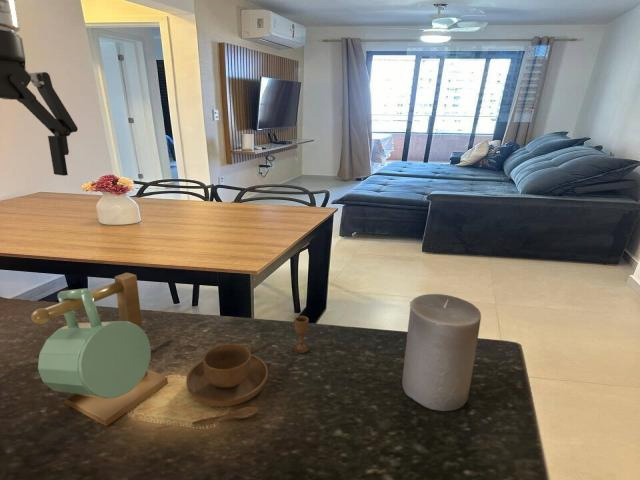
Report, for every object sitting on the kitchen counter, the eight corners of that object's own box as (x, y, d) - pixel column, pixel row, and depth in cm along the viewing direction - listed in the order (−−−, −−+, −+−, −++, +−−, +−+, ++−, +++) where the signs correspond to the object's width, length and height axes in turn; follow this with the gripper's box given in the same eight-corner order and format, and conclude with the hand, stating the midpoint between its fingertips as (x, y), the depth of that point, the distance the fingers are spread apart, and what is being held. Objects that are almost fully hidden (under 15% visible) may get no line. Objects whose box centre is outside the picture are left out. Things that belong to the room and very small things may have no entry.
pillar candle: (458, 372, 62) (471, 287, 58) (476, 415, 53) (493, 318, 48) (397, 367, 63) (406, 283, 58) (405, 409, 53) (416, 313, 49)
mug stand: (19, 413, 50) (-8, 294, 46) (115, 360, 62) (101, 261, 58) (75, 448, 45) (51, 318, 41) (168, 382, 57) (157, 276, 53)
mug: (95, 414, 42) (51, 407, 46) (159, 372, 49) (116, 369, 53) (56, 301, 40) (14, 305, 44) (128, 275, 47) (86, 280, 51)
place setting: (191, 355, 64) (188, 324, 63) (306, 342, 69) (307, 313, 68) (181, 432, 48) (178, 392, 47) (333, 408, 53) (334, 372, 51)
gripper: (-130, 0, 42) (-80, 190, 48) (89, 45, 64) (105, 173, 70) (-154, 7, 45) (-104, 185, 51) (62, 48, 67) (79, 170, 73)
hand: (16, 178), depth 60 cm, fingers open, 13 cm apart
